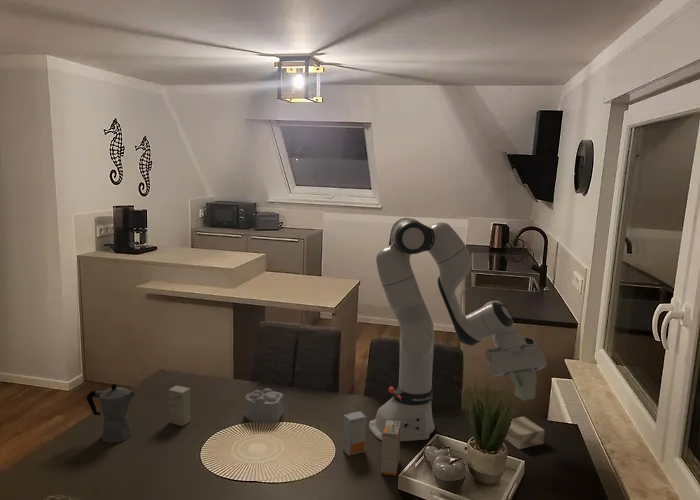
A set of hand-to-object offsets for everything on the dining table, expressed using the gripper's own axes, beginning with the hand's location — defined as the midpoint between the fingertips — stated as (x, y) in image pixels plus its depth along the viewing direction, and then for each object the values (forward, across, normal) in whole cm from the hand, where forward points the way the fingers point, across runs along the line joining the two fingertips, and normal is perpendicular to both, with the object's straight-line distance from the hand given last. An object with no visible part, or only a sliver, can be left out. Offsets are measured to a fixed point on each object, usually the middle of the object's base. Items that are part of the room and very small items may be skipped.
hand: (526, 384), depth 173 cm
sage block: (+3, 0, +4) cm, 4 cm away
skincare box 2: (+5, -55, +22) cm, 60 cm away
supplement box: (+14, -48, +13) cm, 52 cm away
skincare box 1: (-21, -105, +47) cm, 117 cm away
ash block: (+13, 0, +14) cm, 20 cm away
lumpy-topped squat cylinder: (-18, -77, +44) cm, 91 cm away
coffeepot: (-19, -126, +45) cm, 136 cm away
